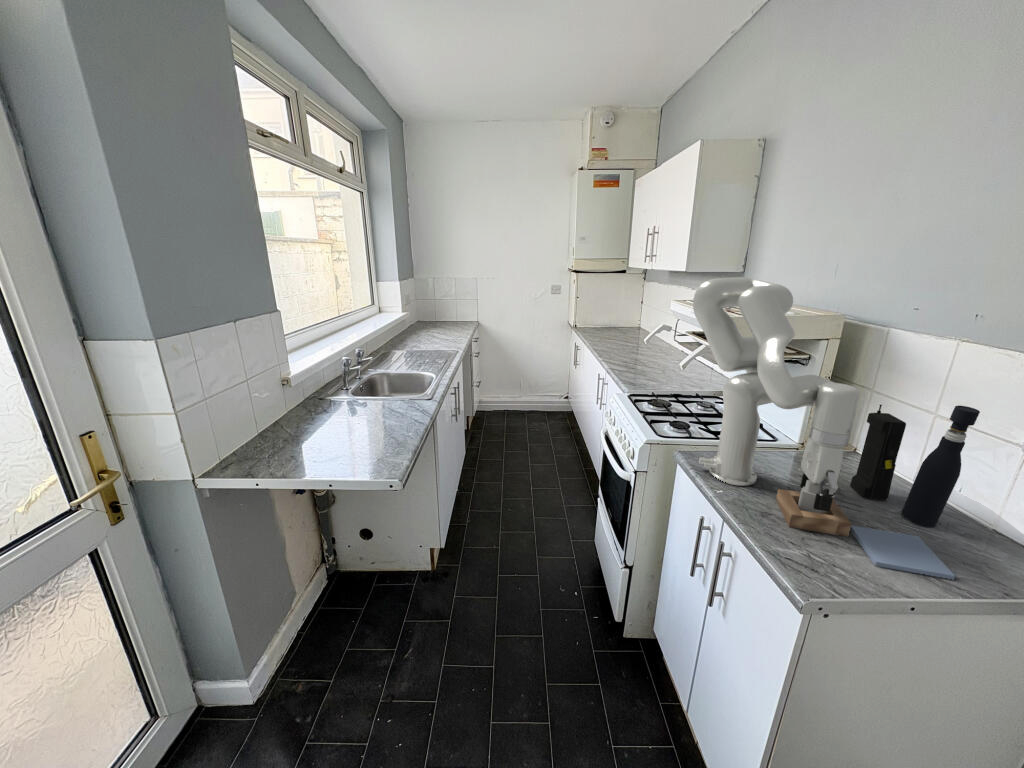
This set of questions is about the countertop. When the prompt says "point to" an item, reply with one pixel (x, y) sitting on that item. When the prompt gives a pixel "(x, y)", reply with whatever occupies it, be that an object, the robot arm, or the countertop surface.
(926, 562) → the blue square plate
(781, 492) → the walnut collar
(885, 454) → the portable radio
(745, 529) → the countertop surface
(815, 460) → the robot arm
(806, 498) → the power adapter
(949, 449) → the black water bottle
